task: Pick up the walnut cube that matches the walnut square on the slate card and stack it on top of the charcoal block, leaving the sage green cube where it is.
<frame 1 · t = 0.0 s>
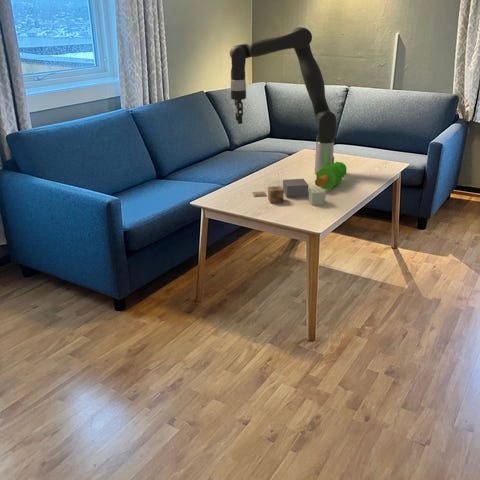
hand: (239, 122, 266), 29 cm above the table, tool pointing down, fingers open, 8 cm apart
sage cube: (316, 203, 241), on the table
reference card: (259, 194, 253), on the table
walnut cube: (275, 200, 245), on the table
base block: (295, 194, 253), on the table
decorative tree: (333, 184, 265), on the table
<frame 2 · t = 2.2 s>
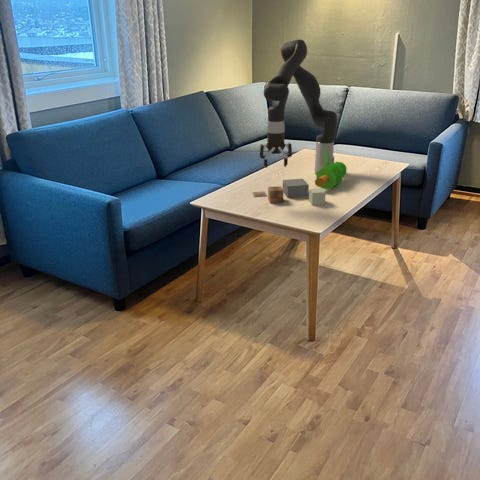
hand: (275, 166, 238), 16 cm above the table, tool pointing down, fingers open, 8 cm apart
nothing on the table moved.
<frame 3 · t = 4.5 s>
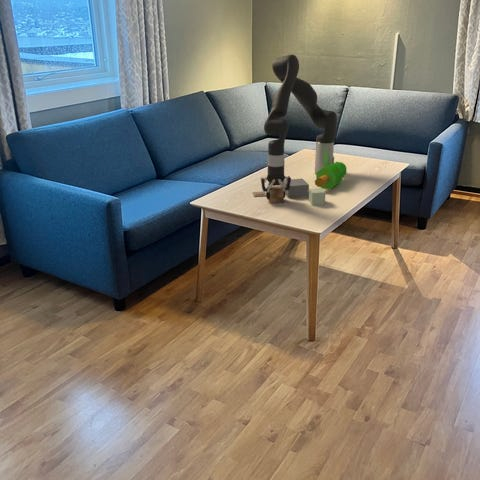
hand: (275, 198, 244), 1 cm above the table, tool pointing down, fingers closed on walnut cube, 6 cm apart
walnut cube: (275, 200, 244), on the table, touching gripper
everything else where it was.
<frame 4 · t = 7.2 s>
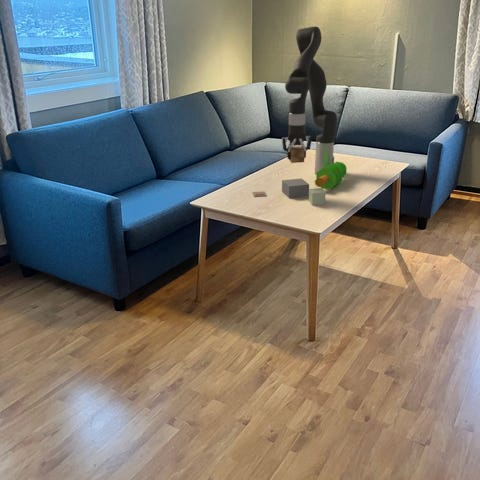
hand: (296, 158, 246), 17 cm above the table, tool pointing down, fingers closed on walnut cube, 6 cm apart
walnut cube: (296, 160, 246), point 16 cm above the table, touching gripper
everything else where it was.
when the fingers open (8 cm above the table, at t = 9.9 s): walnut cube drops 2 cm, resting on base block.
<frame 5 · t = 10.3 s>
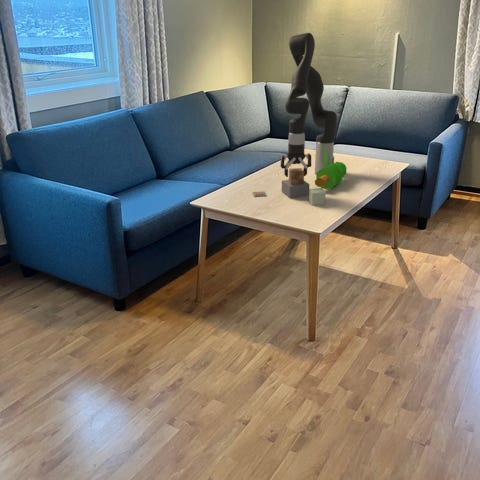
hand: (295, 176, 249), 9 cm above the table, tool pointing down, fingers open, 8 cm apart
walnut cube: (296, 182, 250), point 6 cm above the table, touching base block
base block: (295, 194, 253), on the table, touching walnut cube
everything else where it was.
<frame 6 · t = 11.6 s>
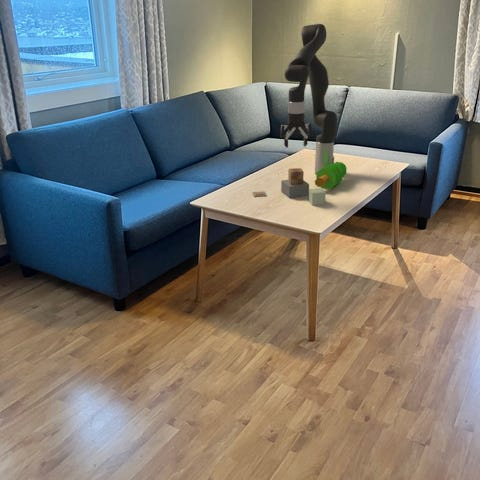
hand: (295, 146, 245), 23 cm above the table, tool pointing down, fingers open, 8 cm apart
nothing on the table moved.
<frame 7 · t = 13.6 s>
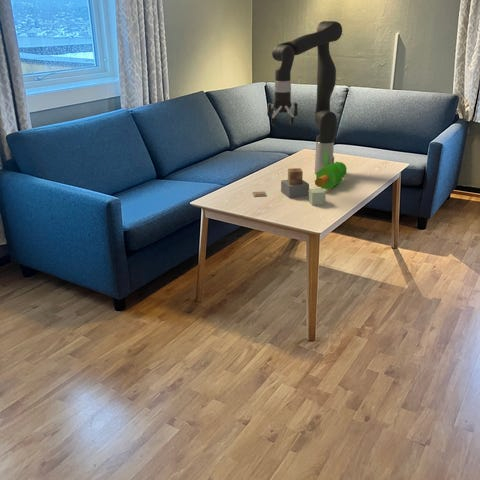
hand: (282, 125, 253), 30 cm above the table, tool pointing down, fingers open, 8 cm apart
walnut cube: (294, 182, 250), point 6 cm above the table
base block: (294, 194, 253), on the table
everything else where it was.
at the end: walnut cube 0.2 cm off-centre on the base block, point 6.0 cm above the base block's base; walnut cube tilted 0°; sage cube moved 0.1 cm from its start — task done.
